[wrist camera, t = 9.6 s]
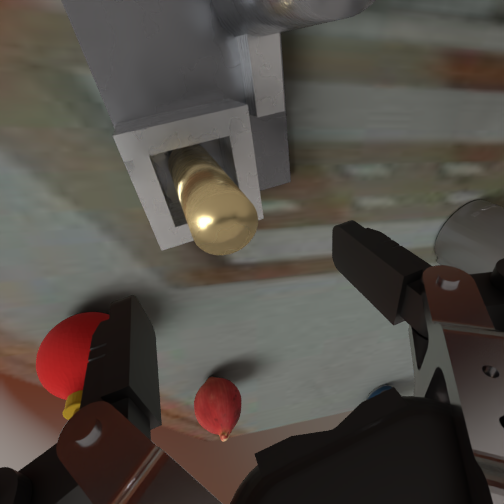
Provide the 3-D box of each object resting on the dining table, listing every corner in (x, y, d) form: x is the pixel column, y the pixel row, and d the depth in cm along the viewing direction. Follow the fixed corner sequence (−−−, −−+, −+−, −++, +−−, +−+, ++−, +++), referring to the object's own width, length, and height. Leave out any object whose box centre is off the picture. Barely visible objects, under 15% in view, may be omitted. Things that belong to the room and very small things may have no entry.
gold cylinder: (205, 138, 20) (252, 184, 12) (215, 179, 22) (262, 243, 14) (161, 149, 19) (181, 205, 12) (176, 191, 21) (201, 263, 14)
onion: (232, 358, 37) (252, 418, 31) (231, 384, 40) (250, 442, 34) (188, 370, 35) (200, 436, 29) (191, 396, 38) (202, 460, 32)
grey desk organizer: (287, 180, 25) (367, 240, 17) (154, 218, 23) (167, 312, 14) (269, -59, 17) (422, -197, 8) (50, -34, 14) (-81, -191, 5)
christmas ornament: (140, 337, 30) (143, 435, 22) (66, 357, 28) (40, 472, 20) (121, 287, 26) (116, 384, 18) (32, 307, 24) (-16, 426, 16)
